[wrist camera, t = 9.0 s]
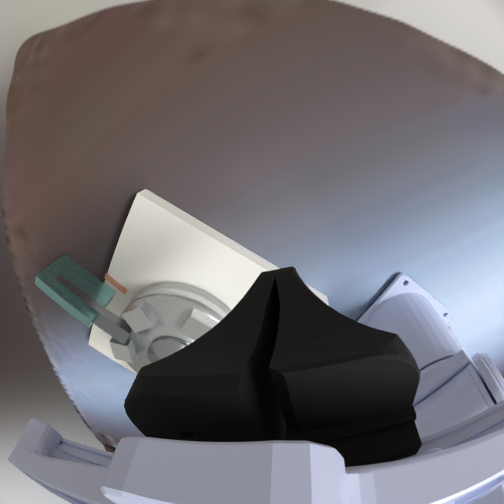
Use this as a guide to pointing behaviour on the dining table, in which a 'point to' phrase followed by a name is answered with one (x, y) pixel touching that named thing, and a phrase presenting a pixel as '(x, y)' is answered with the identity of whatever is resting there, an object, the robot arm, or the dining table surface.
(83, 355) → the dining table surface
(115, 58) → the dining table surface
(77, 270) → the teal elongated tool
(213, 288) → the base plate
